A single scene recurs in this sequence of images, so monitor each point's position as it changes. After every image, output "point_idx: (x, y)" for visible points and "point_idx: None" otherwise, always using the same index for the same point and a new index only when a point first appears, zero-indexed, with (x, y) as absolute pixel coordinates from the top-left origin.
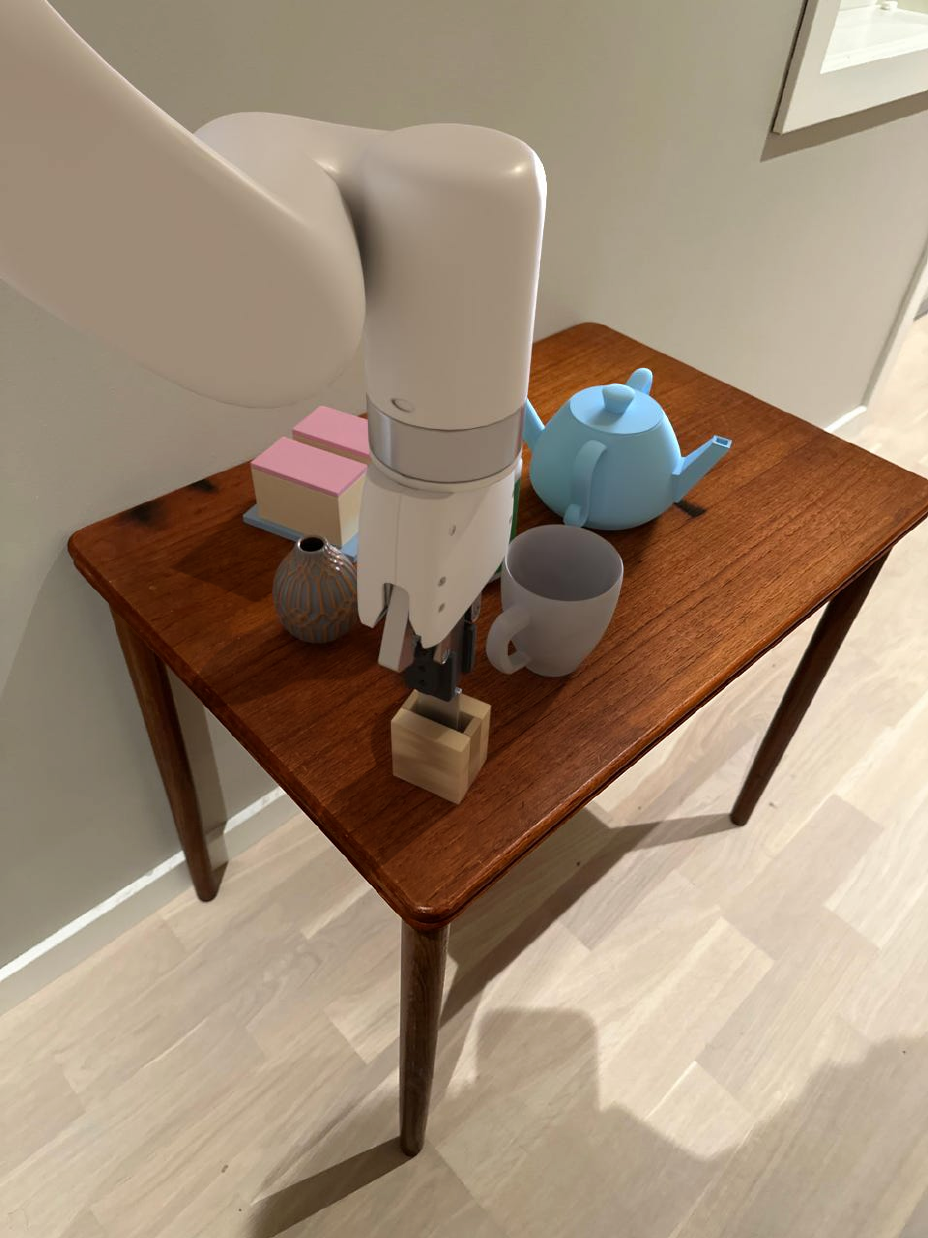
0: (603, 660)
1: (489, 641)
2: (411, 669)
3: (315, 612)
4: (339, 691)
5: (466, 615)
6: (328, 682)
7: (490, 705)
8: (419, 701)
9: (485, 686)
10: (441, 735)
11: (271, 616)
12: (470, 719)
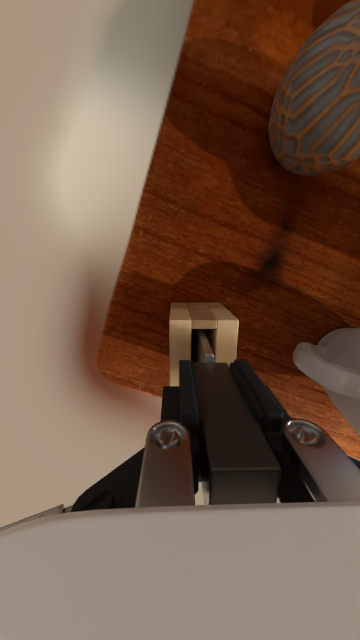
0: None
1: (312, 363)
2: (162, 406)
3: (295, 127)
4: (229, 210)
5: (277, 501)
6: (234, 193)
7: None
8: (200, 340)
9: (285, 324)
10: (178, 370)
11: None
12: None
